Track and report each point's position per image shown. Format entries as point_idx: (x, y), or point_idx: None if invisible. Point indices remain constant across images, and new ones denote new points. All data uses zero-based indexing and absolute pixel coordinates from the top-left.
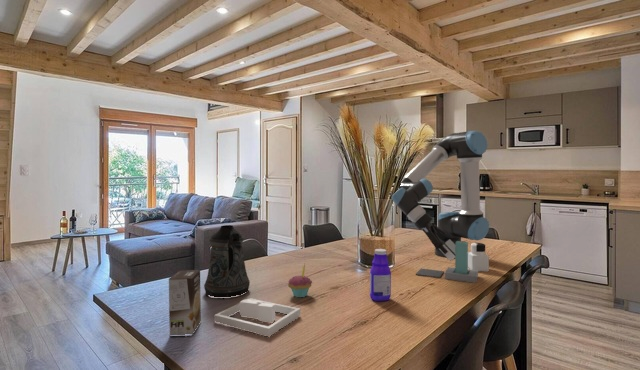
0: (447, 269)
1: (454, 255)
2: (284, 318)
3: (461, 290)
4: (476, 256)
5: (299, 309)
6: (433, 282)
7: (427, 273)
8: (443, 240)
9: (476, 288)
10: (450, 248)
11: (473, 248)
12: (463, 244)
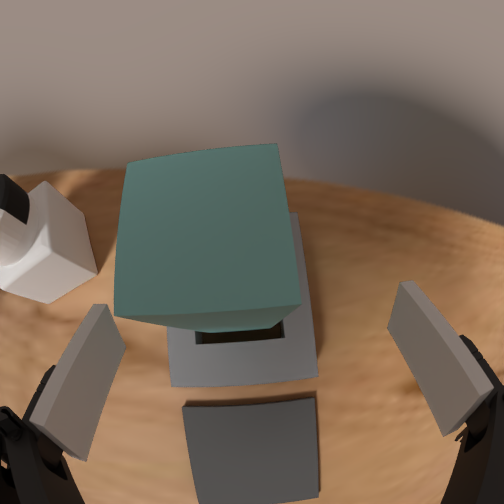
0: (229, 383)
1: (406, 290)
2: None
3: (424, 257)
4: (51, 231)
5: None
6: (393, 391)
7: (280, 464)
8: (72, 483)
9: (368, 212)
10: (103, 396)
11: (9, 236)
12: (281, 189)
